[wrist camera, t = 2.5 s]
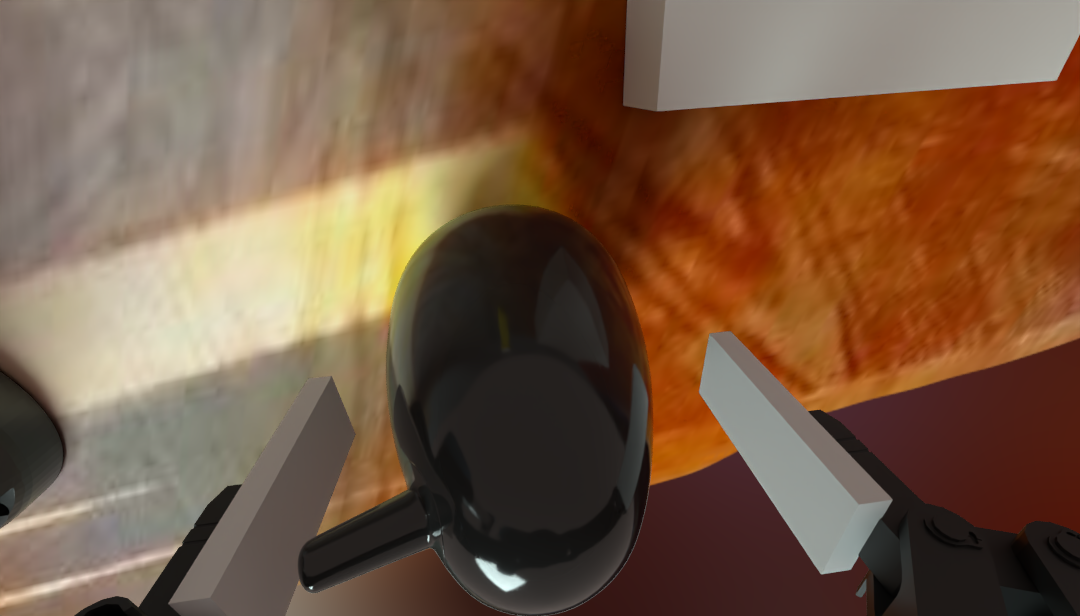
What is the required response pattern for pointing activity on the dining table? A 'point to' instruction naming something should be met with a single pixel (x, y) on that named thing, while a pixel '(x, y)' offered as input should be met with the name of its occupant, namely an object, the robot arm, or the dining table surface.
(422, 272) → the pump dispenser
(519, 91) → the dining table surface
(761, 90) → the ceramic base
